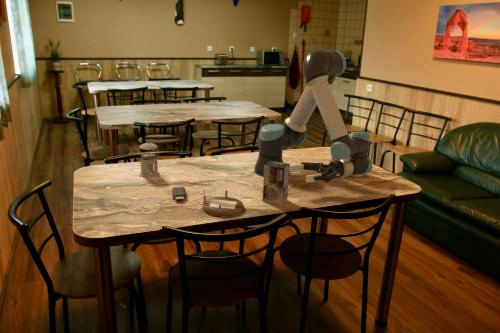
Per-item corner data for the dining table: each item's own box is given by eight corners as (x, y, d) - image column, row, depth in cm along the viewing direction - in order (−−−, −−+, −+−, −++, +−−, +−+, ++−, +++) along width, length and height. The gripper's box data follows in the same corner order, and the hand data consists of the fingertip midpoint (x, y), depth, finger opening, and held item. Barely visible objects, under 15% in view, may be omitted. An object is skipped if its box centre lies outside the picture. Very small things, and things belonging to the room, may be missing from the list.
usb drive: (184, 191, 175) (184, 185, 175) (186, 202, 164) (186, 196, 164) (172, 192, 174) (172, 186, 174) (173, 203, 163) (173, 197, 162)
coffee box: (287, 200, 170) (290, 163, 165) (282, 205, 165) (285, 168, 159) (267, 195, 174) (269, 160, 169) (261, 201, 168) (263, 164, 163)
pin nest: (207, 198, 168) (207, 188, 167) (245, 201, 167) (245, 191, 165) (198, 215, 153) (198, 204, 152) (240, 218, 152) (241, 207, 150)
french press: (134, 175, 190) (131, 123, 182) (149, 168, 201) (147, 118, 193) (152, 179, 187) (150, 126, 179) (166, 171, 197) (164, 121, 189)
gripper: (357, 186, 168) (313, 192, 160) (323, 168, 190) (283, 173, 181) (359, 168, 166) (315, 174, 157) (324, 152, 187) (284, 156, 179)
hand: (297, 173), depth 169 cm, fingers open, 13 cm apart
